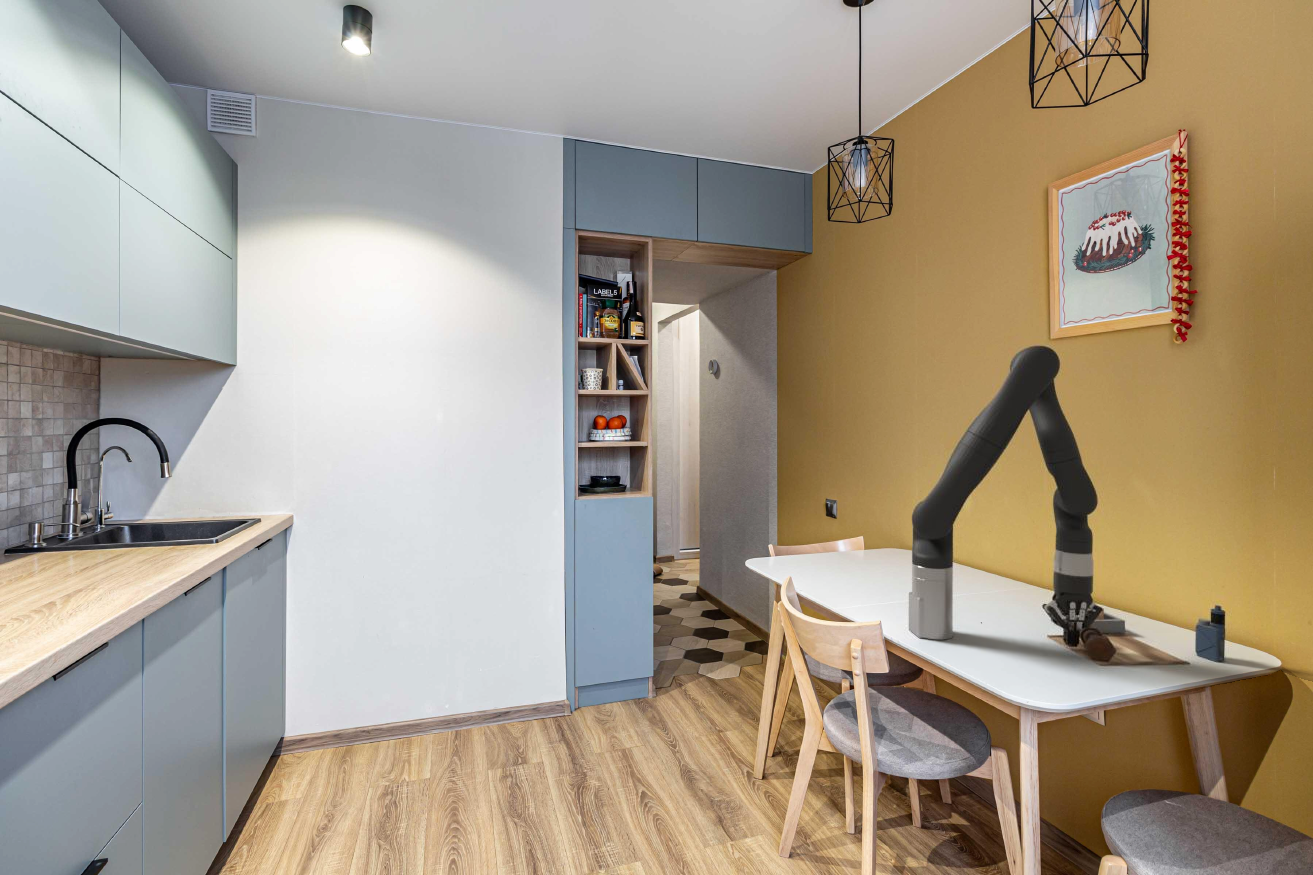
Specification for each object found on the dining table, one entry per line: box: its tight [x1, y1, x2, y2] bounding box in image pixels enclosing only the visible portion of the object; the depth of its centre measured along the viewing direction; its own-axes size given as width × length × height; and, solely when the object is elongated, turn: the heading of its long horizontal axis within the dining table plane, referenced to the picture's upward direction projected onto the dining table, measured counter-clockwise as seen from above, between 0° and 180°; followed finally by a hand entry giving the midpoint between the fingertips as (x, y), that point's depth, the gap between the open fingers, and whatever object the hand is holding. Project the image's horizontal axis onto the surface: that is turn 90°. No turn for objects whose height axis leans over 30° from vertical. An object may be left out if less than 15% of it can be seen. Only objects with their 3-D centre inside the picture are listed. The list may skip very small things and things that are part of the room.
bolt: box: [1080, 626, 1116, 661], centre depth 141 cm, size 6×5×15 cm
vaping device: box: [1194, 604, 1226, 663], centre depth 136 cm, size 3×5×12 cm, turn 16°
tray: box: [1050, 608, 1126, 634], centre depth 157 cm, size 11×11×4 cm
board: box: [1046, 633, 1191, 666], centre depth 142 cm, size 20×18×1 cm
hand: (1071, 645), depth 141 cm, fingers closed
